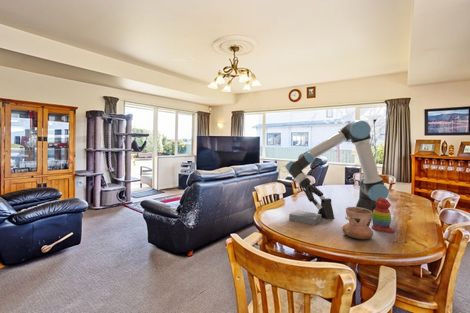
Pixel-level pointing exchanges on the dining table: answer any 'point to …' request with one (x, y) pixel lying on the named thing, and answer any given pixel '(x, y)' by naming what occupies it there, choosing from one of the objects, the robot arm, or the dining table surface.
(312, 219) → the plinth
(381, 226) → the stacking bear
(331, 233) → the dining table surface
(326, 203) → the black tapered block
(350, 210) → the ceramic jug
